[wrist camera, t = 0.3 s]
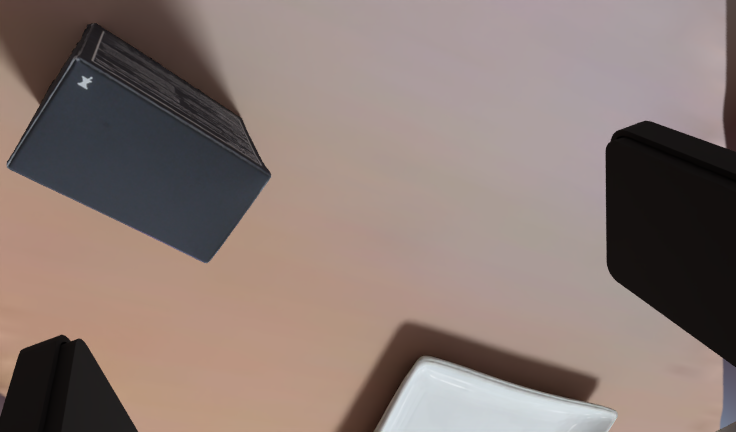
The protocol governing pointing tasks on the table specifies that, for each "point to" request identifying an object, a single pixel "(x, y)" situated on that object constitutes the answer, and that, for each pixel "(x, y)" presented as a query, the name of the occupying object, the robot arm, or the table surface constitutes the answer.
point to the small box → (142, 147)
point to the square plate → (483, 404)
